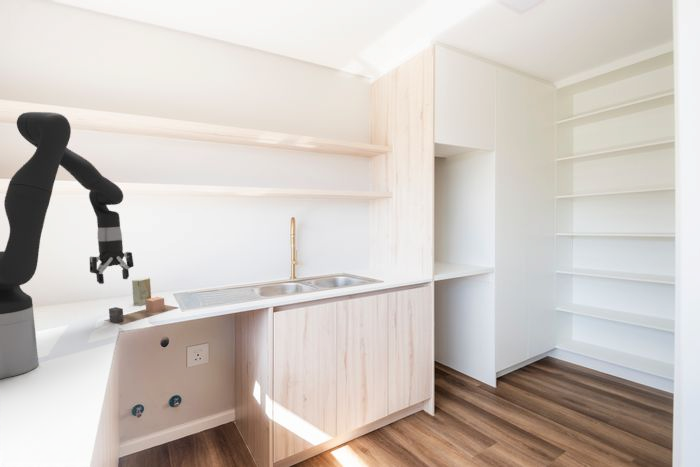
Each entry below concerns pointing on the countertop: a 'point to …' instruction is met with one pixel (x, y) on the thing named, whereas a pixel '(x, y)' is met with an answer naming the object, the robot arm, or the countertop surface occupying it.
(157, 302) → the terracotta block
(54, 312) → the countertop surface
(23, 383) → the countertop surface
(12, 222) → the robot arm
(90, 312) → the countertop surface
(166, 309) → the walnut strip
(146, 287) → the skincare box
